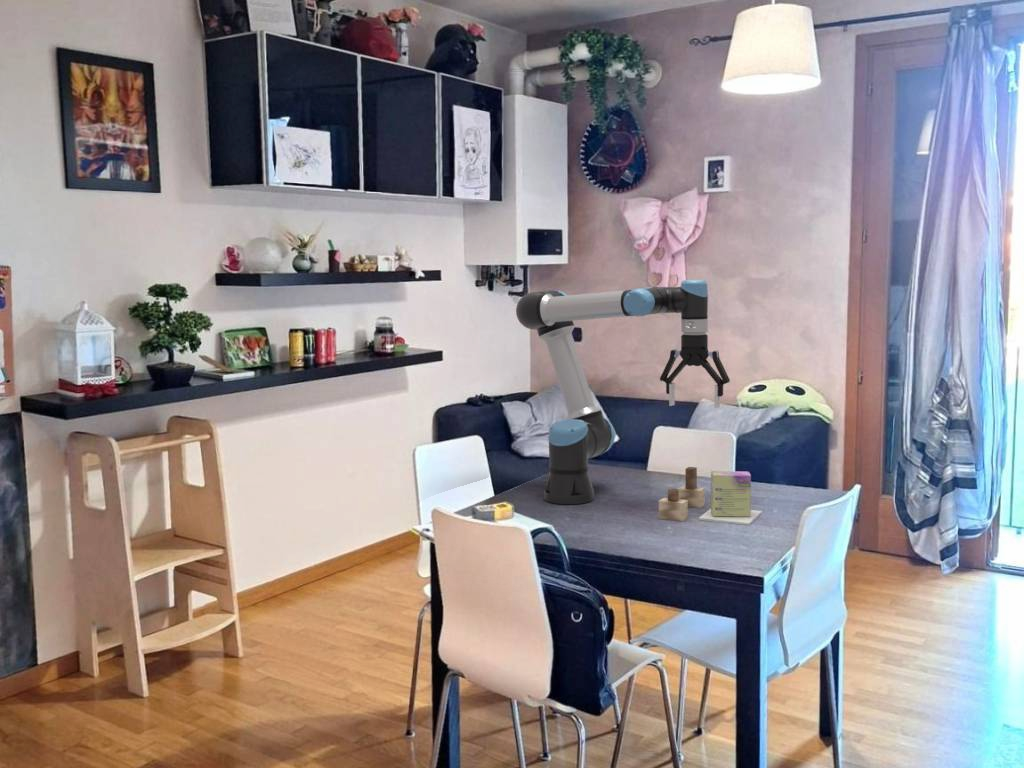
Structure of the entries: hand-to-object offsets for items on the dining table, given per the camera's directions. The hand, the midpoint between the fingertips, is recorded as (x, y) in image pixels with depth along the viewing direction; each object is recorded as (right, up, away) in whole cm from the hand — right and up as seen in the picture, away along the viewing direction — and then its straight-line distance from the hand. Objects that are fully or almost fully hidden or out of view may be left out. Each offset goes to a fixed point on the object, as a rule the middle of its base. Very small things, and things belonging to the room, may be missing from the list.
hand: (694, 406), depth 289 cm
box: (+8, -30, -13) cm, 33 cm away
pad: (+8, -30, -13) cm, 34 cm away
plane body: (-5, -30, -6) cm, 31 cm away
